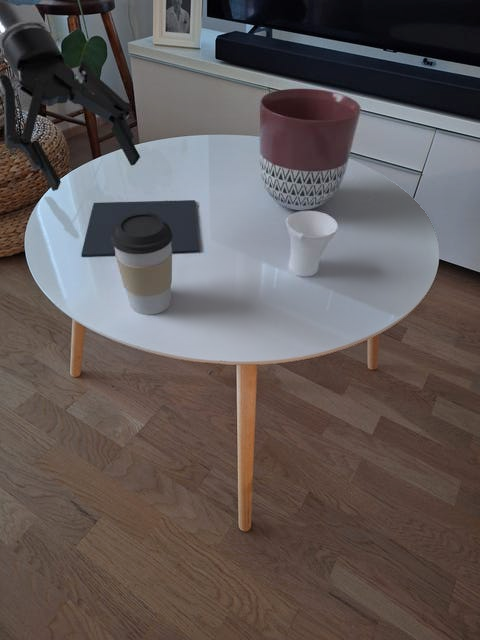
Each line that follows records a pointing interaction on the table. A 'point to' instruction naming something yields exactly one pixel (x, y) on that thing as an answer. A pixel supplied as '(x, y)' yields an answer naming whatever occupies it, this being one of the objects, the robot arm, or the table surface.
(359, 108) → the planter
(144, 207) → the mat
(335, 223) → the cup
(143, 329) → the table surface
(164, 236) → the coffee cup
